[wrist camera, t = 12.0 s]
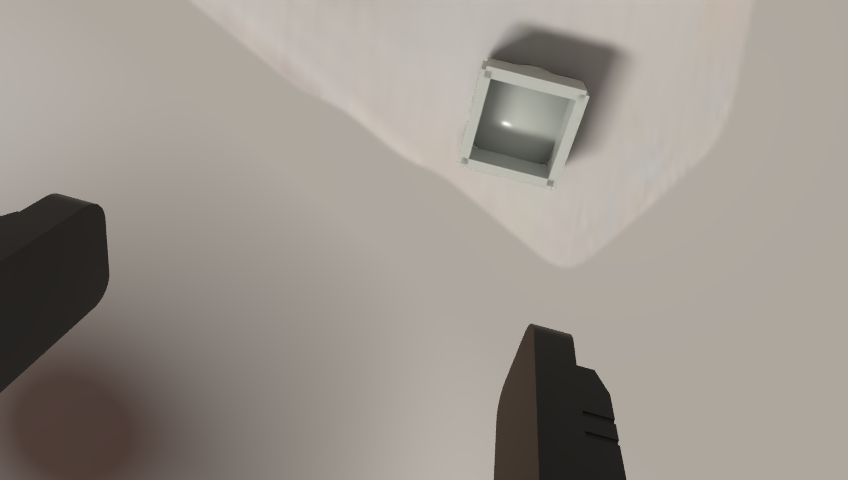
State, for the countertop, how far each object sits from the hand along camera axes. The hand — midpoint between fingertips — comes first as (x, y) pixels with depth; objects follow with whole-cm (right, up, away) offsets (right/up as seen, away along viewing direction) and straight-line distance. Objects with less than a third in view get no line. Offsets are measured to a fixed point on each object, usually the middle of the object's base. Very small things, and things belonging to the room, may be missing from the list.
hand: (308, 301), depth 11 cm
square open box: (+10, +11, +34) cm, 37 cm away
